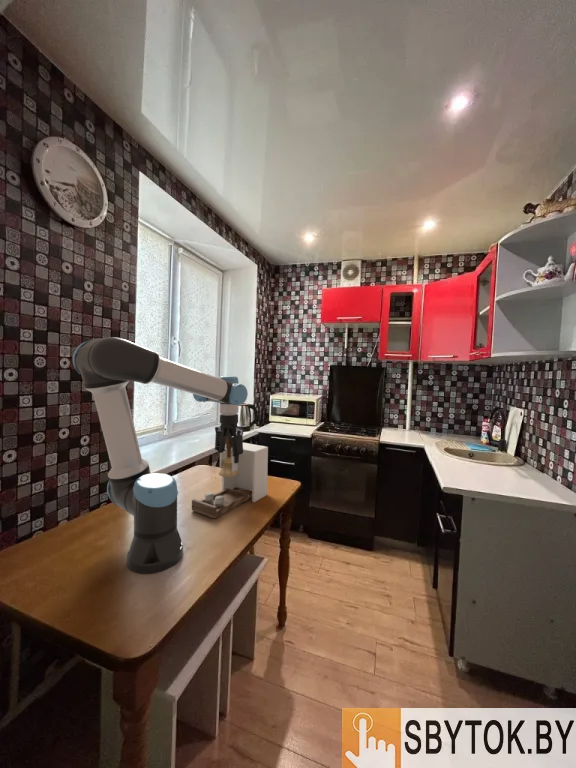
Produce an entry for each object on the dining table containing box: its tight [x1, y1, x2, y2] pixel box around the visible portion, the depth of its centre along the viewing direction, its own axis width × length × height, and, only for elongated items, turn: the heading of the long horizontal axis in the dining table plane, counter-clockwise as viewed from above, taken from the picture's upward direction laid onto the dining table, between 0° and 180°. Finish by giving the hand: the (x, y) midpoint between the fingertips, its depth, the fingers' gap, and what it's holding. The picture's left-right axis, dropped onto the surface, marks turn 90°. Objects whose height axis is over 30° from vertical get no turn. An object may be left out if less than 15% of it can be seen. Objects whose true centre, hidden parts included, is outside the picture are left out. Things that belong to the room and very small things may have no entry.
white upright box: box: [195, 442, 269, 519], centre depth 131 cm, size 29×18×22 cm, turn 149°
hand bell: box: [218, 437, 239, 477], centre depth 129 cm, size 8×8×16 cm
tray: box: [191, 488, 249, 519], centre depth 127 cm, size 20×12×5 cm, turn 149°
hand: (228, 469), depth 130 cm, fingers closed on hand bell, 6 cm apart
